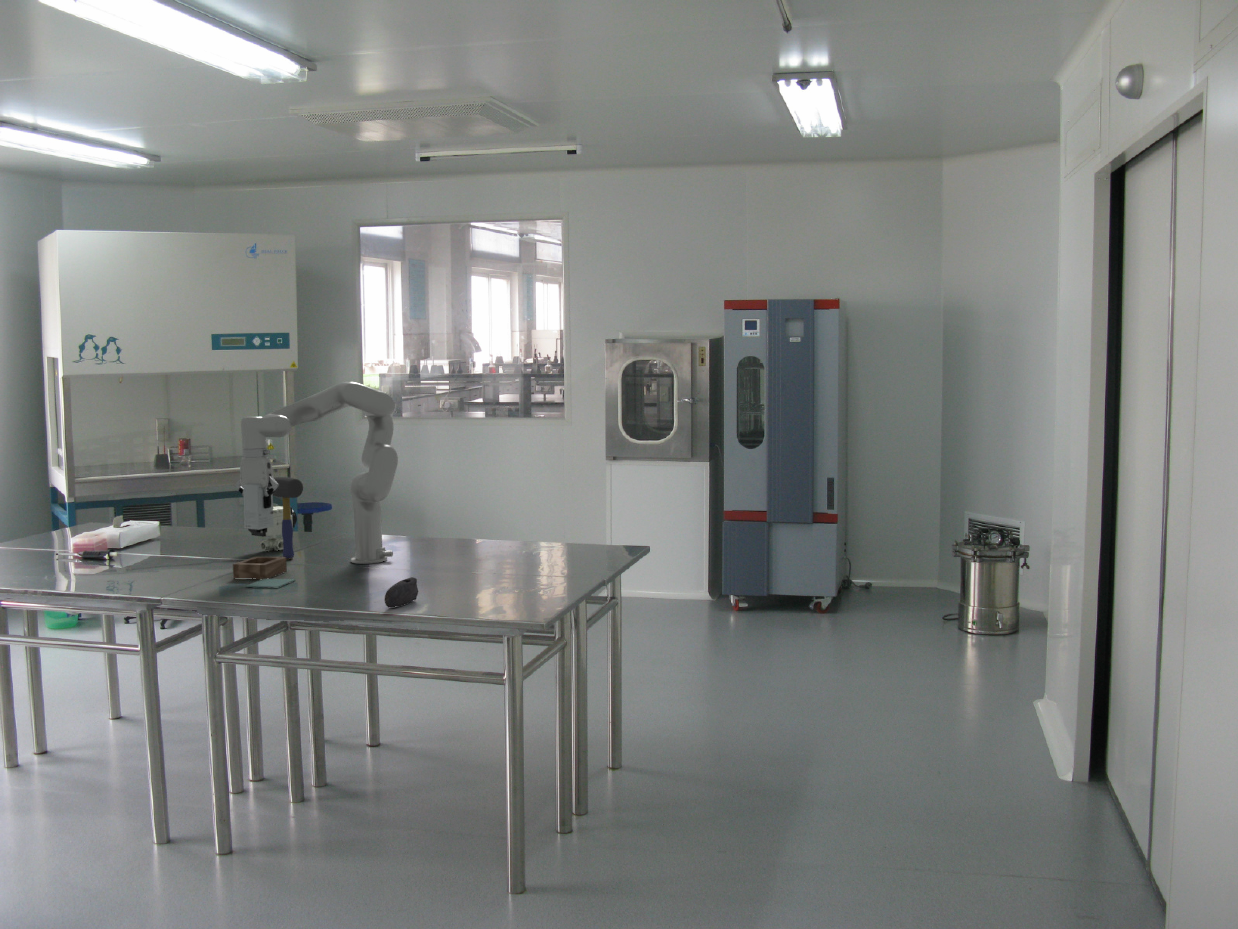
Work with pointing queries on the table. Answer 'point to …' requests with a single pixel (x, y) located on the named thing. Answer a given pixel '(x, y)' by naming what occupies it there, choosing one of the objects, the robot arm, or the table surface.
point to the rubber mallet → (287, 510)
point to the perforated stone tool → (402, 592)
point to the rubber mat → (270, 583)
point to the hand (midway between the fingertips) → (258, 507)
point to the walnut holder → (260, 567)
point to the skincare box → (256, 508)
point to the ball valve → (274, 530)
